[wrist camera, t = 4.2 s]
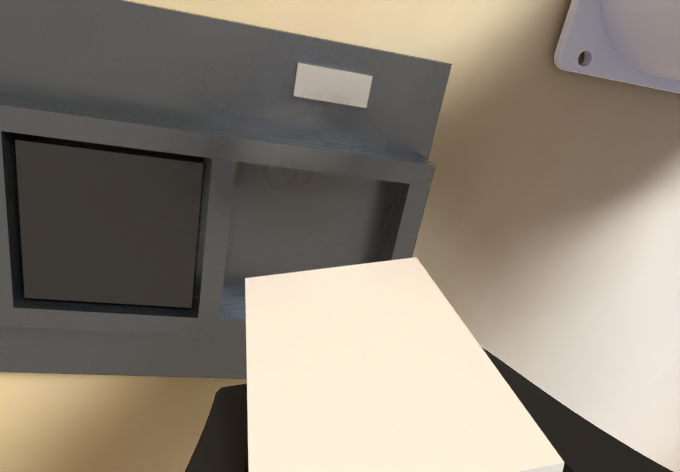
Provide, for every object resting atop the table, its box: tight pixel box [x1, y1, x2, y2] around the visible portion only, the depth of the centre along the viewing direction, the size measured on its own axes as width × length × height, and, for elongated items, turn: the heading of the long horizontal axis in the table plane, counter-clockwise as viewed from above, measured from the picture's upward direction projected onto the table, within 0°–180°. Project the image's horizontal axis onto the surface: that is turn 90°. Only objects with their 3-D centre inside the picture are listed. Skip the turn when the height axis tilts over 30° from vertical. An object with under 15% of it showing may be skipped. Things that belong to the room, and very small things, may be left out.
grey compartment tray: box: [0, 0, 452, 379], centre depth 16 cm, size 20×13×3 cm, turn 79°
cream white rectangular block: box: [245, 257, 564, 472], centre depth 9 cm, size 4×4×7 cm
